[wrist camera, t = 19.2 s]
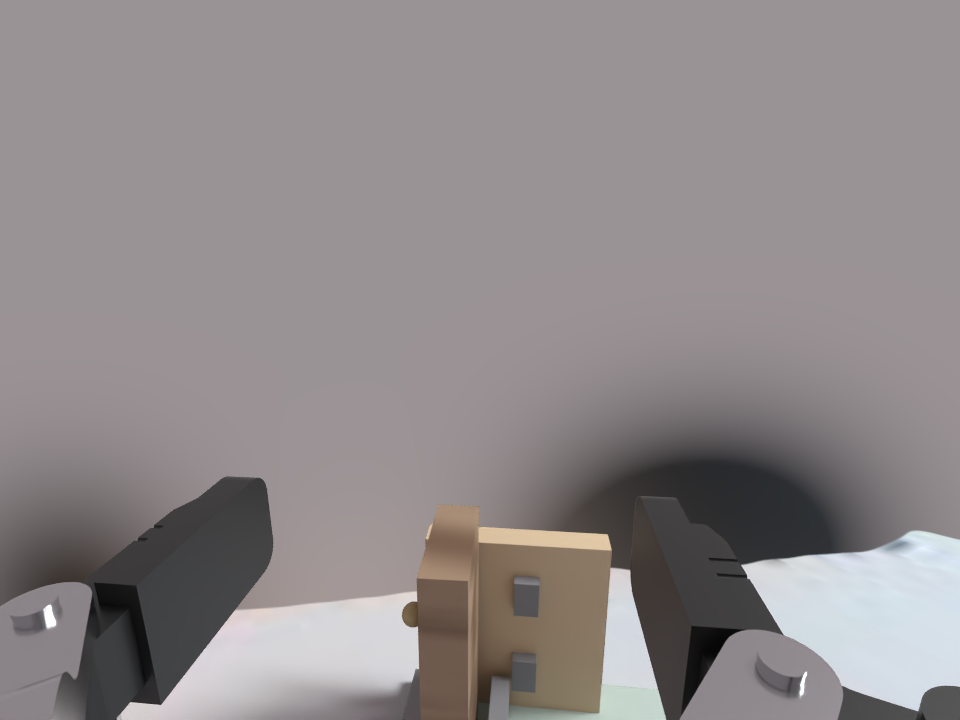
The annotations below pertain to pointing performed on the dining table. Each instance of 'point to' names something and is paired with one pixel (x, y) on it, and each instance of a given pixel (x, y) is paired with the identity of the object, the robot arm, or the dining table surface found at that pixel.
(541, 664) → the cabinet frame
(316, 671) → the dining table surface
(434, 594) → the door panel
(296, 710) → the dining table surface
